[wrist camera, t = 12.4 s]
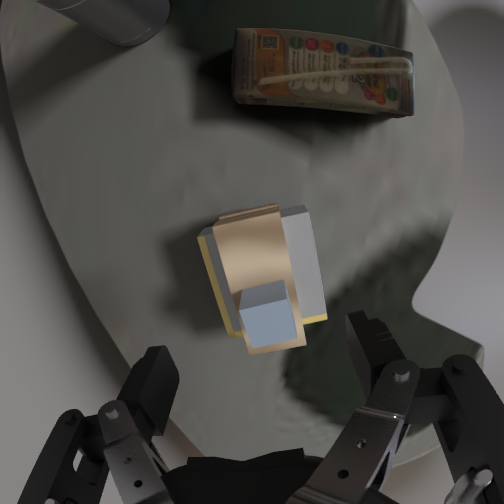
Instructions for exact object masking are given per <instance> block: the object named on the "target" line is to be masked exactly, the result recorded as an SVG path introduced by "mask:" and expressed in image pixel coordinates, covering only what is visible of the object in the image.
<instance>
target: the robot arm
mask: <svg viewBox="0 0 504 504" xmlns="http://www.w3.org/2000/svg"><path fill="white" fill-rule="evenodd" d="M34 1H36V2H38V3H40V4H42V5H44V6H46V7H48V8H50V9H52V10H54V11H56V12H58V13H60V14H62V15H64V16H66V17H67V18H69V19H71V20H73V21H75V22H77V23H78V24H80V25H82V26H84V27H86V28H87V29H89V30H91V31H93V32H94V33H96V34H98V35H99V36H101V37H103V38H105V39H106V40H108V41H110V42H111V43H113V44H115V45H118V46H123V47H128V46H134V45H137V44H141V43H143V42H145V41H147V40H148V39H150V38H151V37H153V36H154V35H155V34H156V33H157V32H158V31H159V30H160V29H161V28H162V27H163V25H164V24H165V22H166V20H167V18H168V15H169V12H170V5H169V0H34ZM345 318H346V329H347V342H348V349H349V353H350V356H351V359H352V362H353V364H354V367H355V370H356V373H357V375H358V378H359V381H360V384H361V386H362V389H363V392H364V395H365V398H366V400H367V401H366V403H365V405H364V407H363V408H361V407H358V408H357V409H356V410H355V411H354V413H353V414H352V416H351V418H350V419H349V421H348V423H347V424H346V426H345V427H344V429H343V431H342V432H341V434H340V435H339V437H338V438H337V440H336V441H335V443H334V444H333V446H332V447H331V449H330V450H329V452H328V453H327V455H326V456H325V458H321V457H317V456H307V455H305V454H304V450H303V448H298V449H292V450H285V451H278V452H272V453H269V454H266V455H263V456H259V457H256V458H253V459H249V460H246V461H237V460H231V459H225V458H219V457H188V460H187V465H184V466H181V467H178V468H175V469H173V470H171V471H170V470H169V469H168V467H167V465H166V464H165V462H164V460H163V459H162V457H161V455H160V453H159V452H158V450H157V448H156V447H155V445H154V443H153V442H152V436H163V433H164V430H165V427H166V424H167V420H168V417H169V414H170V411H171V407H172V404H173V401H174V398H175V394H176V391H177V388H178V385H179V373H178V370H177V368H176V366H175V364H174V361H173V359H172V357H171V355H170V353H169V351H168V349H167V347H166V346H164V345H162V346H153V347H149V348H148V349H147V351H146V353H145V355H144V357H143V358H141V359H140V360H139V361H137V362H136V363H135V364H134V366H133V367H132V369H131V372H130V374H129V375H128V377H127V380H126V381H125V383H124V385H123V387H122V389H121V391H120V393H119V395H118V397H117V399H116V400H112V401H109V402H108V403H105V404H104V405H103V406H102V407H101V408H100V409H99V411H98V414H96V415H92V416H87V417H84V415H83V414H82V413H81V411H79V410H77V409H71V410H68V411H66V412H64V413H63V414H62V415H61V416H60V417H59V419H58V420H57V422H56V424H55V426H54V428H53V430H52V432H51V434H50V436H49V438H48V439H47V441H46V444H45V445H44V447H43V449H42V451H41V453H40V455H39V457H38V459H37V461H36V464H35V465H34V468H33V470H32V472H31V474H30V476H29V478H28V480H27V483H26V485H25V487H24V489H23V491H22V494H21V496H20V499H19V501H18V503H17V504H99V502H100V499H101V496H102V492H103V489H104V486H105V483H106V479H107V476H108V473H109V470H110V471H111V474H112V476H113V479H114V482H115V484H116V486H117V489H118V491H119V494H120V496H121V498H122V501H123V503H124V504H399V503H397V502H396V501H394V500H392V499H391V498H389V497H387V496H386V495H384V494H382V493H381V492H380V490H381V488H382V487H383V485H384V483H385V481H386V479H387V477H388V475H389V473H390V470H391V468H392V465H393V463H394V460H395V458H396V456H397V454H398V452H399V449H400V447H401V445H402V443H403V441H404V438H405V436H406V434H407V431H408V429H409V426H410V424H418V423H431V422H432V423H433V426H434V428H435V431H436V433H437V436H438V438H439V441H440V444H441V446H442V449H443V451H444V454H445V457H446V460H447V462H448V465H449V468H450V471H451V474H452V477H453V480H454V483H455V485H454V487H453V488H452V489H451V491H450V492H449V494H448V495H447V497H446V499H445V501H444V504H504V404H503V402H502V401H501V399H500V398H499V396H498V395H497V393H496V391H495V390H494V388H493V386H492V385H491V383H490V382H489V380H488V379H487V377H486V376H485V374H484V373H483V371H482V370H481V368H480V367H479V365H478V364H477V362H476V361H475V360H474V359H473V358H471V357H470V356H467V355H462V354H458V355H453V356H451V357H449V358H447V359H446V360H445V361H444V363H443V366H442V367H441V368H430V369H423V368H419V366H418V365H417V364H416V363H415V362H413V361H410V360H407V359H406V357H405V356H404V354H403V352H402V351H401V349H400V347H399V346H398V344H397V342H396V341H395V339H394V338H393V336H392V334H391V332H390V331H389V329H388V328H387V326H386V324H385V323H383V322H382V321H380V320H379V319H377V318H375V319H371V320H368V318H367V317H366V315H365V313H364V311H363V310H360V311H355V312H351V313H347V314H346V315H345ZM78 450H79V451H80V452H81V454H83V456H82V459H81V461H80V464H79V466H78V469H77V471H75V470H74V467H73V461H74V458H75V456H76V453H77V451H78Z"/></svg>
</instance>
